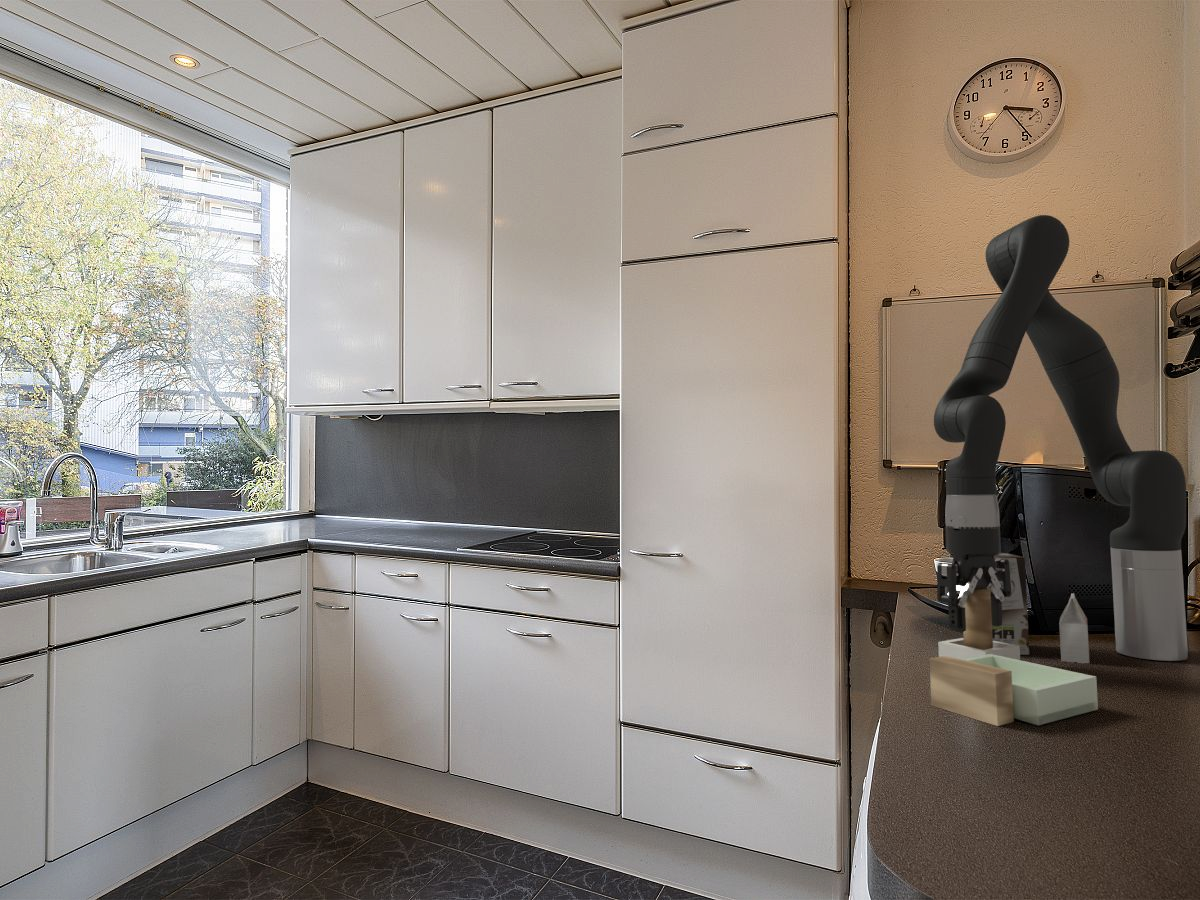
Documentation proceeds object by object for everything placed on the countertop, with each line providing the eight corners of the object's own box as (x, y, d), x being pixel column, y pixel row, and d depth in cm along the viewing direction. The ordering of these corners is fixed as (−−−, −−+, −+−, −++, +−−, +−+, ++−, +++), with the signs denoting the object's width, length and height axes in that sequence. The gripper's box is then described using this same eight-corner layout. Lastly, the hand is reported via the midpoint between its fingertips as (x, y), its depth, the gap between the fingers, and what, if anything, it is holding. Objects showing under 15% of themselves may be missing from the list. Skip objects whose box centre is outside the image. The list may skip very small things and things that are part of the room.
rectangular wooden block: (947, 702, 92) (945, 655, 93) (1013, 721, 84) (1011, 670, 85) (931, 705, 91) (929, 658, 91) (997, 726, 83) (995, 674, 83)
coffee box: (1031, 655, 116) (1026, 556, 117) (988, 654, 117) (984, 556, 118) (1011, 643, 125) (1006, 551, 126) (971, 642, 126) (967, 551, 127)
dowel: (975, 662, 112) (972, 586, 113) (999, 667, 109) (996, 589, 109) (959, 665, 111) (955, 588, 111) (982, 671, 107) (979, 591, 108)
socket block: (972, 658, 115) (971, 636, 115) (1020, 669, 108) (1019, 645, 108) (939, 664, 111) (938, 641, 112) (986, 676, 104) (985, 652, 104)
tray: (992, 682, 100) (990, 653, 100) (1098, 709, 88) (1096, 676, 88) (934, 694, 95) (932, 664, 95) (1038, 725, 82) (1036, 690, 83)
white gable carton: (1061, 661, 112) (1057, 597, 113) (1062, 652, 118) (1059, 592, 118) (1089, 664, 110) (1085, 599, 111) (1089, 655, 116) (1085, 593, 116)
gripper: (979, 521, 117) (983, 620, 116) (920, 524, 111) (924, 628, 110) (1024, 523, 111) (1028, 628, 110) (963, 526, 104) (967, 637, 103)
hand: (976, 628), depth 110 cm, fingers open, 8 cm apart
